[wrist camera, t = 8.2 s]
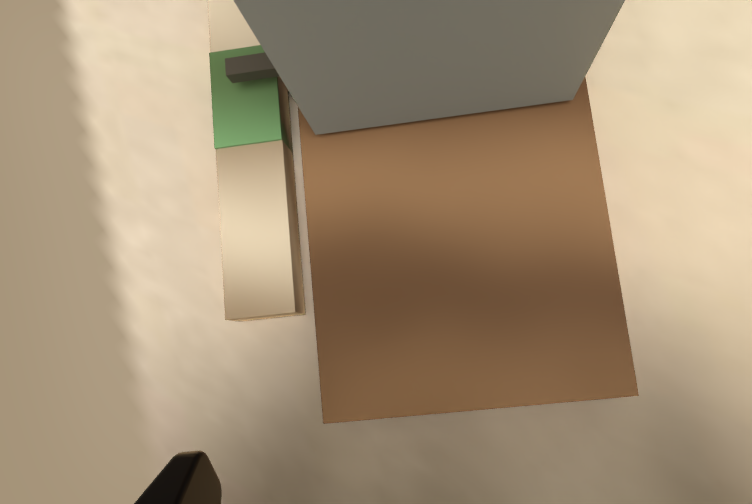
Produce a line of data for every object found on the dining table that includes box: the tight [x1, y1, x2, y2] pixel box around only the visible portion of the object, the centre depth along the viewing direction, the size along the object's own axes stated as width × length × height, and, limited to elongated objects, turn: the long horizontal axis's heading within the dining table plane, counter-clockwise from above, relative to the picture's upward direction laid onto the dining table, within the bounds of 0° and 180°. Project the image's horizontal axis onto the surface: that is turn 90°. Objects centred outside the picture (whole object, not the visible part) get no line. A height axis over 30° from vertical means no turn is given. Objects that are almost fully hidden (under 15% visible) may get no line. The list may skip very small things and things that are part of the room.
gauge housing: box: [208, 0, 639, 424], centre depth 13 cm, size 18×11×12 cm, turn 6°
